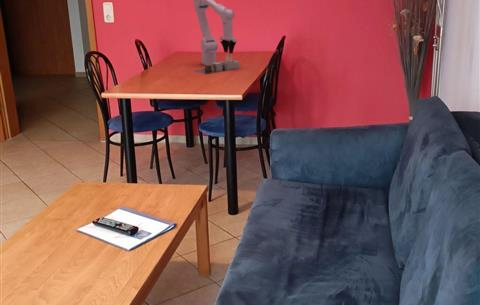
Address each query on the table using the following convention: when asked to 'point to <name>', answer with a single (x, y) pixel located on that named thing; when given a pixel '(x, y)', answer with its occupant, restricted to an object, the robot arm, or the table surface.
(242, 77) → the table surface
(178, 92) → the table surface
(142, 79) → the table surface
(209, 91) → the table surface
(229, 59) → the peg
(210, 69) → the pin
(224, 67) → the socket
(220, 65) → the pin guide
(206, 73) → the base plate
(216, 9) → the robot arm
